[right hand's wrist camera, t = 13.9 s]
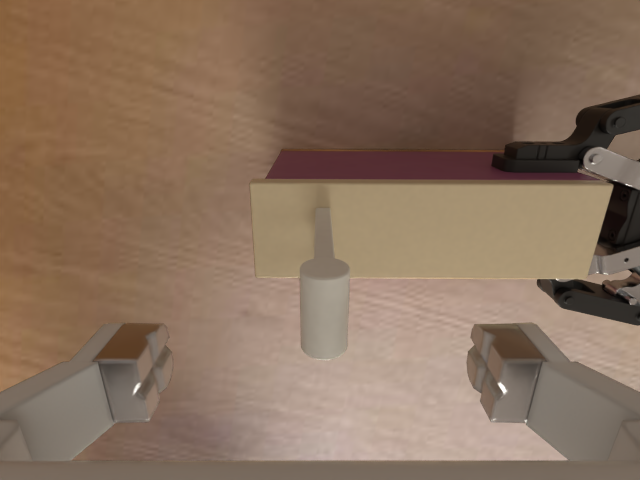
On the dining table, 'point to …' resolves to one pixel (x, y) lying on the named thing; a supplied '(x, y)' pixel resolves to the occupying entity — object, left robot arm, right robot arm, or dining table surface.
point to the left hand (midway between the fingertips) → (490, 212)
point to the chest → (399, 165)
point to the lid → (416, 237)
